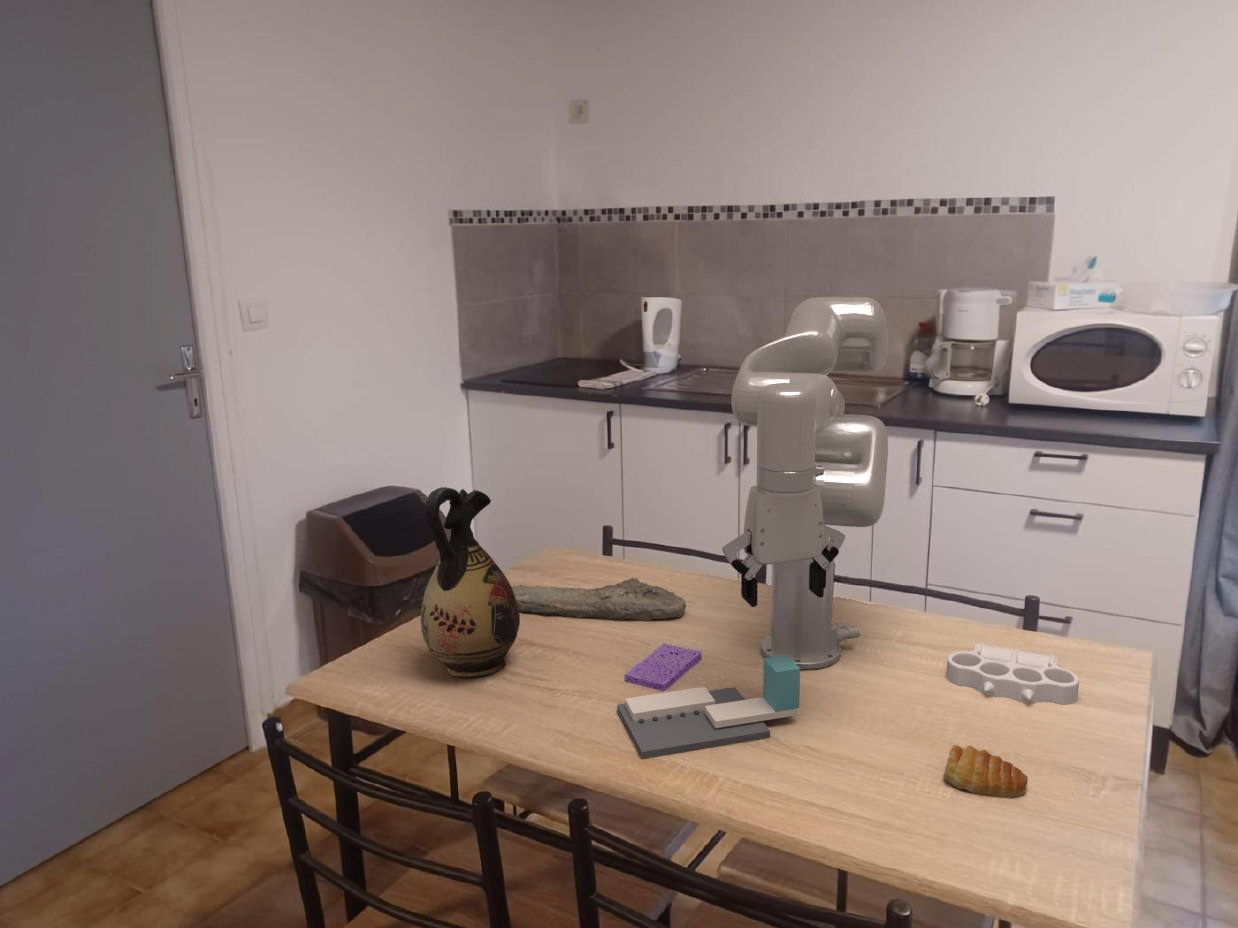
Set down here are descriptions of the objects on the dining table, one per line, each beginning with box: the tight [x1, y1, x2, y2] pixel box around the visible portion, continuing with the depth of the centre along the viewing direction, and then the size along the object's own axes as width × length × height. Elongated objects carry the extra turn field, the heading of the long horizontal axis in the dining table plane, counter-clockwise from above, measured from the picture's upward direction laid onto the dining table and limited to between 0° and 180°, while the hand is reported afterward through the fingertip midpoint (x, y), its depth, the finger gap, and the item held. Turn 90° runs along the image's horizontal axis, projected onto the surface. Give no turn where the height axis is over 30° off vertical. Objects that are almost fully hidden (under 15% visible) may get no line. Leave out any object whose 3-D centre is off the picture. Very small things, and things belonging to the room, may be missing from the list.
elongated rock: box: [511, 577, 687, 622], centre depth 170 cm, size 35×5×10 cm
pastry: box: [942, 744, 1029, 798], centre depth 115 cm, size 9×7×4 cm
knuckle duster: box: [945, 642, 1080, 706], centre depth 139 cm, size 3×18×15 cm
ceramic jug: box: [420, 486, 521, 678], centre depth 145 cm, size 17×15×30 cm
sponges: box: [624, 642, 703, 692], centre depth 146 cm, size 7×13×2 cm, turn 148°
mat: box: [616, 686, 771, 760], centre depth 130 cm, size 18×13×1 cm
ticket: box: [624, 686, 715, 724], centre depth 132 cm, size 12×5×1 cm, turn 104°
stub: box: [704, 655, 801, 728], centre depth 129 cm, size 12×4×7 cm, turn 104°
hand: (783, 598), depth 127 cm, fingers open, 9 cm apart
